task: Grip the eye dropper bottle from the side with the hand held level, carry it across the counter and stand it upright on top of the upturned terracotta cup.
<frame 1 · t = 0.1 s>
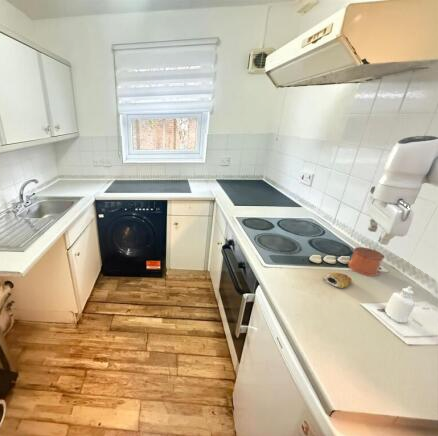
hand: (376, 236, 75), 25 cm above the worktop, tool pointing down, fingers open, 8 cm apart
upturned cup: (362, 268, 102), on the worktop
pastry: (336, 283, 93), on the worktop
eye dropper bottle: (394, 317, 77), on the worktop
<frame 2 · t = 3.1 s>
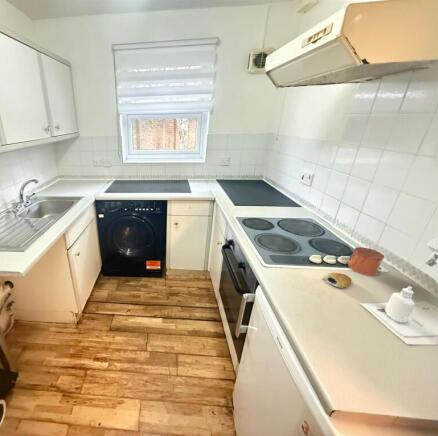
nothing on the worktop moved.
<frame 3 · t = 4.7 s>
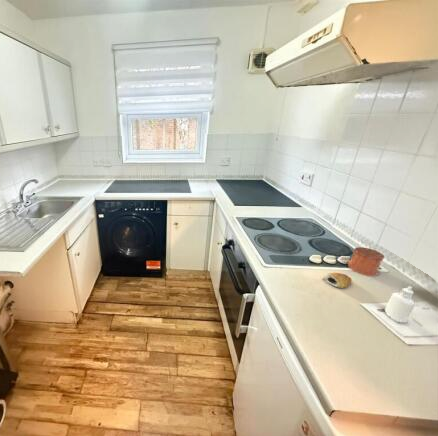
nothing on the worktop moved.
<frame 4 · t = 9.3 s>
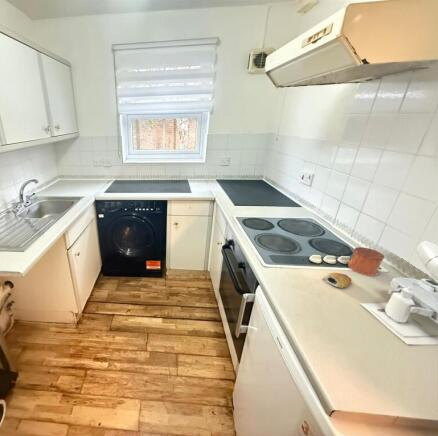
hand: (399, 300, 75), 7 cm above the worktop, tool horizontal, fingers closed on eye dropper bottle, 5 cm apart
eye dropper bottle: (394, 317, 77), on the worktop, touching gripper
everything else where it was.
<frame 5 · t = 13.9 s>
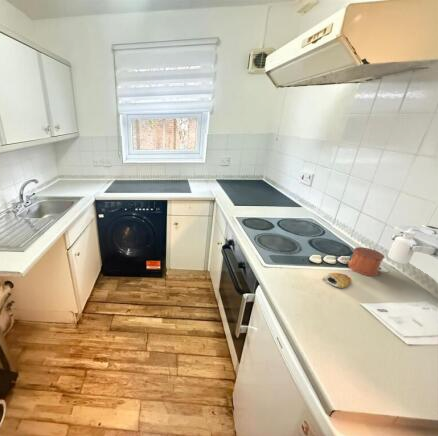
hand: (402, 242, 78), 22 cm above the worktop, tool horizontal, fingers closed on eye dropper bottle, 5 cm apart
eye dropper bottle: (397, 260, 81), point 15 cm above the worktop, touching gripper
everything else where it was.
when the fingers open (15 cm above the worktop, at t = 18.9 s): eye dropper bottle stays where it is, resting on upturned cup.
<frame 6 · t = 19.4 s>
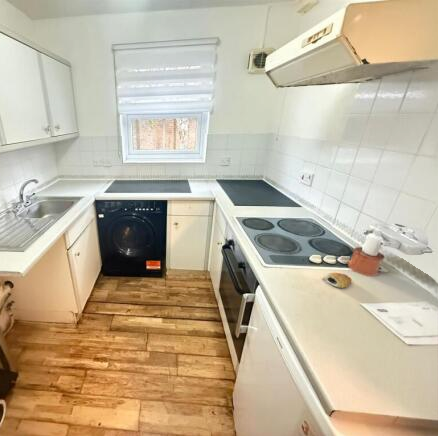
hand: (373, 237, 96), 15 cm above the worktop, tool horizontal, fingers open, 8 cm apart
eye dropper bottle: (368, 253, 99), point 8 cm above the worktop, touching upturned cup
everything else where it was.
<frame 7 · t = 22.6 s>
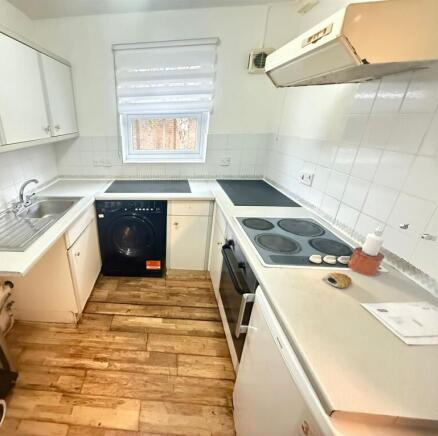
hand: (411, 231, 93), 19 cm above the worktop, tool horizontal, fingers open, 8 cm apart
nothing on the worktop moved.
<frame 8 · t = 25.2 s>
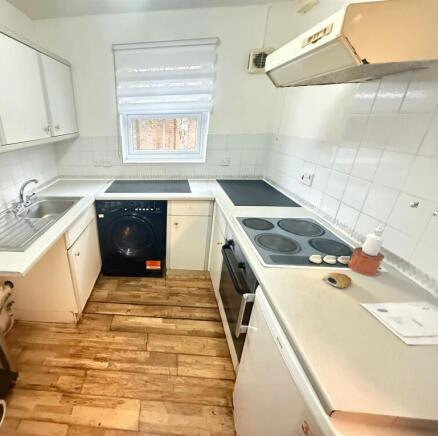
hand: (422, 209, 90), 28 cm above the worktop, tool horizontal, fingers open, 8 cm apart
nothing on the worktop moved.
at the end: eye dropper bottle 0.0 cm off-centre on the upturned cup, point 7.8 cm above the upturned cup's base; eye dropper bottle tilted 0°; the gripper is holding nothing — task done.
